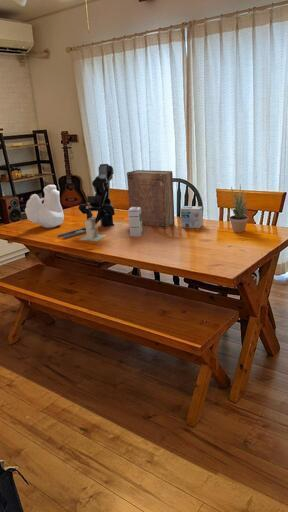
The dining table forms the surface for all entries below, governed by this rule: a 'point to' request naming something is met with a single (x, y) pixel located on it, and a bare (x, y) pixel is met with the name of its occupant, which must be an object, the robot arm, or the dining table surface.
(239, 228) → the potted plant
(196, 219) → the light bulb box
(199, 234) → the dining table surface
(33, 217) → the decorative rooster
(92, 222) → the beige rectangular block
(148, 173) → the book
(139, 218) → the syrup box
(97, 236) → the mat
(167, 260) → the dining table surface
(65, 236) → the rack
